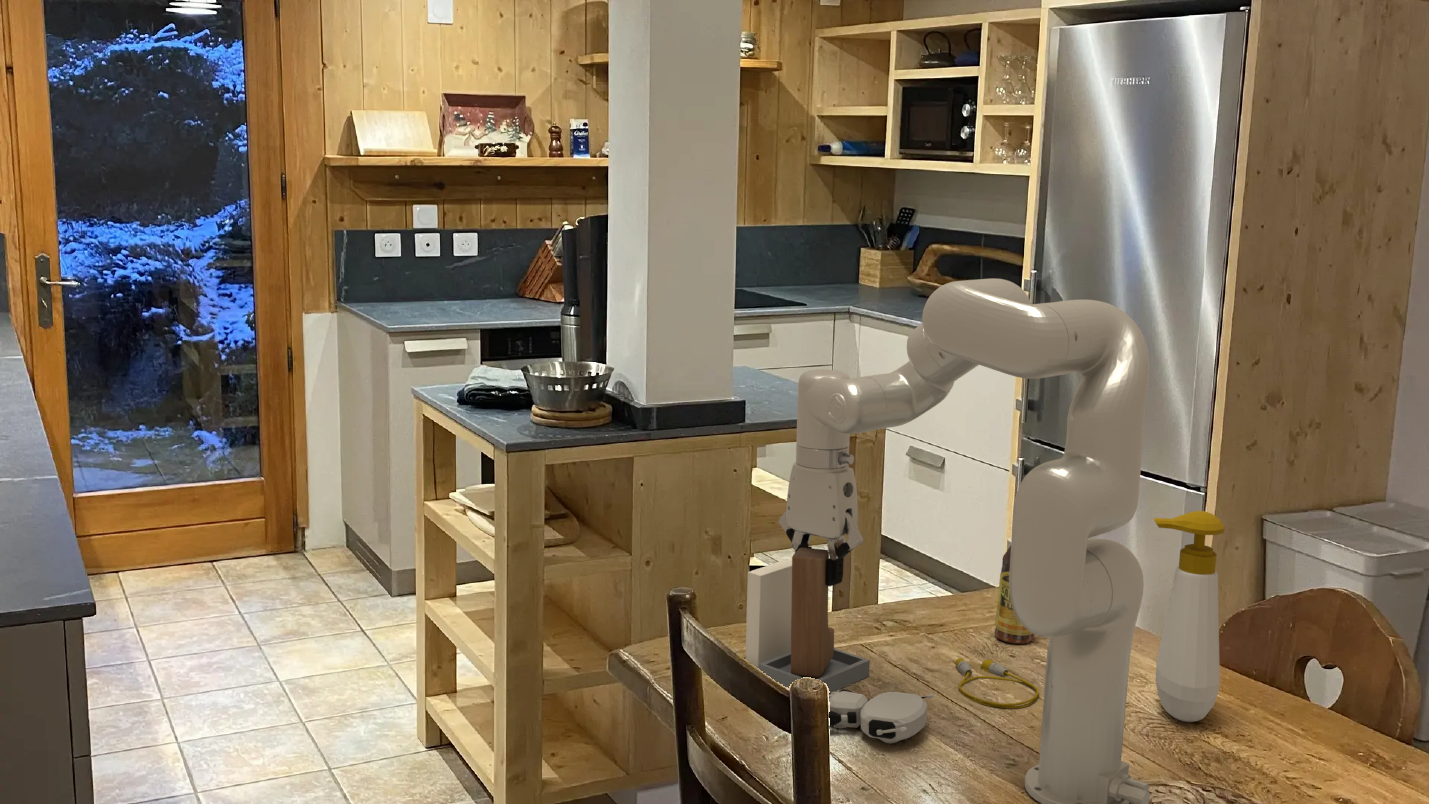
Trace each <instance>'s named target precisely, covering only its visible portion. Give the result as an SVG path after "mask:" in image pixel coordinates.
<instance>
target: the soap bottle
mask: <svg viewBox="0 0 1429 804" xmlns="http://www.w3.org/2000/svg"><path fill="white" fill-rule="evenodd" d="M1153 520H1154V522H1155V524H1156V525H1157V527H1158V529H1159V528H1160V529H1172V530H1176V531H1182V532H1184V533H1189V534H1193V535H1194V537H1193V543H1188V544H1185V545H1184V547H1183V548H1180V551H1179V562H1178V566H1176V568H1175V572H1174V577H1173V581H1172V587H1171V589H1170V590H1171V591H1170V595H1169V600H1168V605H1167V608H1166V609H1167V610H1166V614H1165V615H1166V616H1165V620H1164V625H1163V630H1162V635H1161V638H1160V644H1159V648H1158V654H1157V659H1156V666H1155V686H1156V690H1157V696H1158V698H1159V701H1160V703H1161V705H1162V707H1163V709H1164V711H1165V712H1167V713H1168V715H1170V716H1171V717H1173V718H1175V719H1176V720H1177V721H1178V720H1179V721H1181V722H1186V723H1194V722H1199V721H1201V720H1203V719H1204V718H1205V717H1206V716H1207V715H1208V714H1209V712H1211V710H1212V709H1213V707H1214V705H1215V703H1216V701H1217V697H1218V695H1219V691H1220V690H1219V689H1220V681H1221V678H1220V677H1221V675H1220V674H1221V673H1220V671H1221V670H1220V633H1219V632H1220V629H1219V627H1220V625H1219V623H1220V622H1219V573H1218V571H1217V570H1216V565H1217V553H1216V552H1215V551H1214V549H1213V548H1212V546H1209V545H1206V536H1218V535H1222V534H1224V532H1225V527H1226V526H1225V524H1224V523H1223V521H1222V520H1221V519H1220V518H1219V517H1217V516H1216V515H1215V514H1213V513H1210V512H1209V511H1206V510H1195V511H1190V512H1187V513H1184V514H1181V515H1179V516H1178V515H1177V516H1175V517H1171V518H1165V517H1162V518H1161V517H1160V518H1159V517H1153Z"/></svg>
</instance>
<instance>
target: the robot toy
mask: <svg viewBox="0 0 1429 804" xmlns="http://www.w3.org/2000/svg"><path fill="white" fill-rule="evenodd" d="M828 695H829V702H830V712H829V718H830V726H829V727H834V728H837V729H838V728H839V729H846V728H858V727H859V726H860V730H861V731H862V732H863V733H864V734H865V735H867V736H868V737H870V738H872V739H879V740H880V741H882V742H884V743H886V744H895V743H898V742H900V741H902V740H903V741H904V740H907V739H909V738H911V737H913V736H915V735H916V734H917V733H918V732H919V731H921V730H922V729H923V728H925V726H926V724H927V721H928V704H927V701H925V699H932V698H934V695H933V694H927V695H922V696H919V695H918V694H915V693H908V692H907V693H906V692H899V691H887V692H883V693H879V694H877V695H875V696H874V697H872V698H871V699H870V698H867V697H866V696H865V695H864V694H861V693H857V692H855V691H852V690H849V689H846V688H841V689H839V690H837V691H835V692H832V693H830V694H828Z"/></svg>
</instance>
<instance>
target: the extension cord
mask: <svg viewBox="0 0 1429 804" xmlns="http://www.w3.org/2000/svg"><path fill="white" fill-rule="evenodd" d="M954 662H955V663H954V664H955V668H956V669H957V671H958V672H960V673H961V674H962V675H964V678H962V680H961V681H960V682H959V684H958V692H960V693H961V694H962V695H963V696H965V697H966V698H967V699H968V700H969V701H972V702H975V703H977V704H979V705H983V706H989V707H993V708H1001V709H1022V708H1027V707H1030V706H1031V705H1033V704H1034V703H1035V702H1036V701H1037V700H1038V698H1039V696H1040V690H1039V688H1038V687H1037V686H1035V685H1034V684H1033V683H1031V682H1029V681H1027V680H1025V679H1023V678H1020V677H1018V676H1016V675H1014V674H1011V673H1009V669H1008V668H1007V667H1004V666H1002V665H1001V664H999V663H997V662H994V661H993V659H992V658H990V659H984V660H983V661H982V662H981V664H980V667H979V668H980V669H981V670H982V671H985V672H987V673H991V674H993V675H996V676H985V675H981V676H980V675H979V676H978V675H977V676H976V675H975V676H973V675H972V674H973V670H972V669H973V668H972V665H971V664H969V663H968V661H967V660H965V659H964V658H962V657H959V658H957V659H955V661H954ZM971 676H972V677H971ZM999 676H1000V677H999ZM1007 676H1008V677H1011V678H1008V677H1007ZM968 677H969V678H968ZM1005 677H1006V678H1005ZM977 679H988V680H989V679H990V680H999V681H1007V682H1014V683H1018V684H1021V685H1024V686H1027V687H1029V688H1031V689H1033V690H1034V691H1035V692H1036V693H1035V695H1034V696H1033V697H1031V698H1028V699H1027V700H1024V701H1019V702H1013V703H1002V702H1001V703H999V702H995V701H990V700H985V699H983V698H979V697H977V696H974V695H972V694H970V693H968V692H966V691H965V690H964V689H963V688H962V687H963V686H964V684H967V683H968V682H970V681H973V680H977Z"/></svg>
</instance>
